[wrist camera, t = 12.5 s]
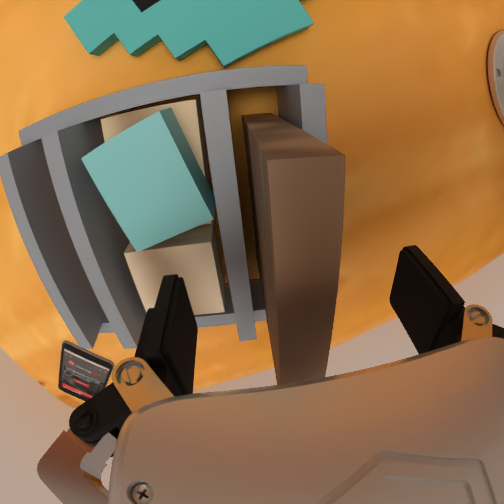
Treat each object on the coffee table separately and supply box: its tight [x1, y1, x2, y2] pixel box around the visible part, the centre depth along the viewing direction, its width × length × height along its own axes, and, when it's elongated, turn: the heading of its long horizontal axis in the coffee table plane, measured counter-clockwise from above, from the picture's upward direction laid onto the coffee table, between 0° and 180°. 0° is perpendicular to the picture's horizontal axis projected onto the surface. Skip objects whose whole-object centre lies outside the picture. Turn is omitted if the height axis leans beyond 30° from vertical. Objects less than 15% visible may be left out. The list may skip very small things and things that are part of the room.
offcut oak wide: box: [101, 98, 213, 225], centre depth 18 cm, size 6×8×4 cm
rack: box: [0, 65, 327, 349], centre depth 19 cm, size 19×18×7 cm
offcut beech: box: [124, 215, 225, 315], centre depth 22 cm, size 6×6×5 cm
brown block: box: [242, 113, 345, 385], centre depth 16 cm, size 2×12×14 cm, turn 6°
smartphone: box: [58, 341, 114, 401], centre depth 33 cm, size 7×1×15 cm
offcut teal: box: [81, 107, 215, 252], centre depth 15 cm, size 5×6×3 cm
